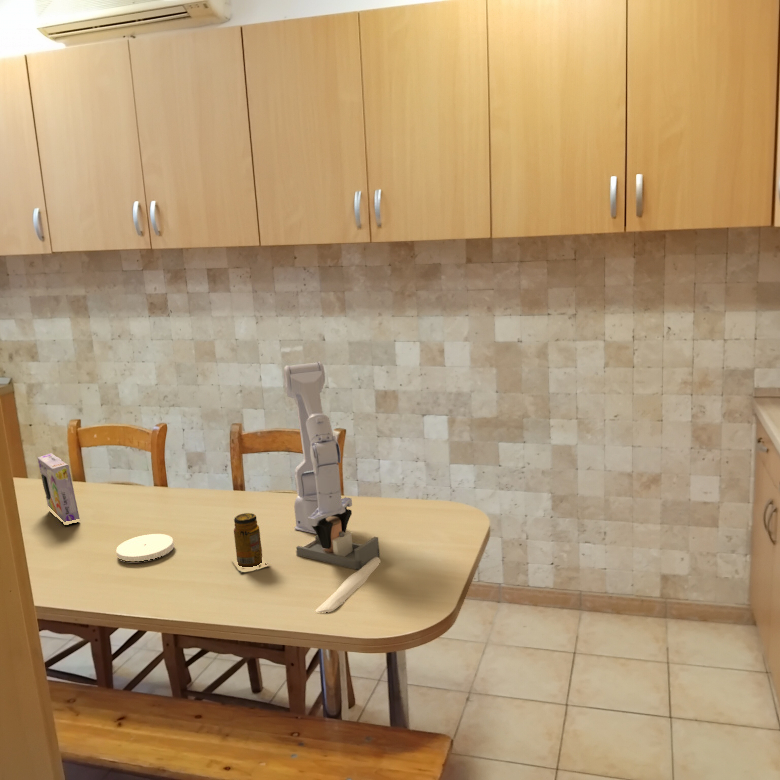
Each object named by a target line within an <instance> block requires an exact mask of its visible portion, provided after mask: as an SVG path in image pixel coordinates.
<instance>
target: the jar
mask: <svg viewBox="0 0 780 780" xmlns="http://www.w3.org/2000/svg"><path fill="white" fill-rule="evenodd" d="M326 521H328V522H331V523H333V526H332V530H331V547H330V549H326V548H323V552H328V553H332V554H334V552H333V541H332V540H334V539H335V538H337V537H339V532H340V531H342V527H341V520H340V518H339V517H335V516H331V517H328V518H326Z"/></svg>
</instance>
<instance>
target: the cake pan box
mask: <svg viewBox="0 0 780 780" xmlns="http://www.w3.org/2000/svg"><path fill="white" fill-rule="evenodd" d="M37 461H38V462H37V463H38V467H39V472H40V475H41V481H42V485H43V489H44V493H45V501H46V505H47V507H48V506H49V507H50V508H51V509H52V510H53V511H54V512H55V513H56V514H57V515H58V516H59V517H60V518H61V519H62V520H63V521H64V522H66V521H72V520H76V519H80V514H79V509H78V503H77V500H76V499H77V498H76V495H75V489H74V483H73V481H72V476H71V470H70V465H69V464H68V463H66V462H64V461H63V460H62V459H61V458H60V457H59V456H56V455H55V454H53V452H51V453H47V454H44V455H42V456H37ZM80 520H81V519H80Z"/></svg>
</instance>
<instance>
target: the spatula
mask: <svg viewBox="0 0 780 780" xmlns="http://www.w3.org/2000/svg"><path fill="white" fill-rule="evenodd" d="M379 563H380V564H381V563H382V561H381V559H380V557H379V558H378V557H375V558H373V559H372V560H370V561H369V562H368V563H367V564H365V565H364V566H363V567H362V568H361V569H360V570H356V572H354V573H352V574H350V575H349V576H348V577H347V578H346V579H345V580H344V581H343V582H342V583H341V584H340V586H339V587H338V588H337V590H336V591H334V593H332V594H331V595H330V596H329V597H328V598H327V599H326V600H325V601H323V603H322V604H320V606H318V607H317V608H316V610H314V612H315V611H316V612H320V613H322V612H324V614H327V613H326V612H328V613H331V612H334V611H335V610H336V609H338V607H340V606H342V605H343V604H344V603H345V602H346V601H347V600H348V599H349V598H350V597H351V596H352V595H353V594H354V593H355V592H356V591H357V590H358V589H359V588H360V587H362V585H364V583H366V581H367V580H368V579H369V577H370V575H371V574H372V573H373V572H374V571H375V570H376V568H378V566H379V565H380V564H379ZM357 588H358V589H357ZM356 589H357V590H356ZM355 590H356V591H355ZM354 591H355V592H354ZM353 592H354V593H353ZM352 593H353V594H352ZM351 594H352V595H351ZM350 595H351V596H350ZM349 596H350V597H349ZM348 597H349V598H348ZM347 598H348V599H347ZM346 599H347V600H346ZM345 600H346V601H345ZM343 602H344V603H343Z"/></svg>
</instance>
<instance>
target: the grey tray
mask: <svg viewBox="0 0 780 780" xmlns="http://www.w3.org/2000/svg"><path fill="white" fill-rule="evenodd" d="M314 538H315V539H313V540H311V541H310V542H308V543H306V544H304V545H302V546H301V545H297V546H296V547H295V548H296V550H295V555H296V556H297V557H303V558H306V559H310V560H315V561H319V562H323V563H328V564H332V565H335V566H340V567H344V568H349V569H352V570H356V571H359V570H360V569H361V568H362V567H363V566H364V565H365V564H367V563H368V562H369V561H370V560H372V559H373V558H375V557H378V558H379V559H380V556H381V555H380V543H379V537H378V536H373V537H372V538H370V539H368V540H366V541H365V542H363V543H355V542H352V548H353V552H351V553H349V554H348V555H346V556H341V555H336V554H332V553H328V552H323V548H322V545H321V542H320V540H319V537H318V535H317V534H315V536H314Z"/></svg>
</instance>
